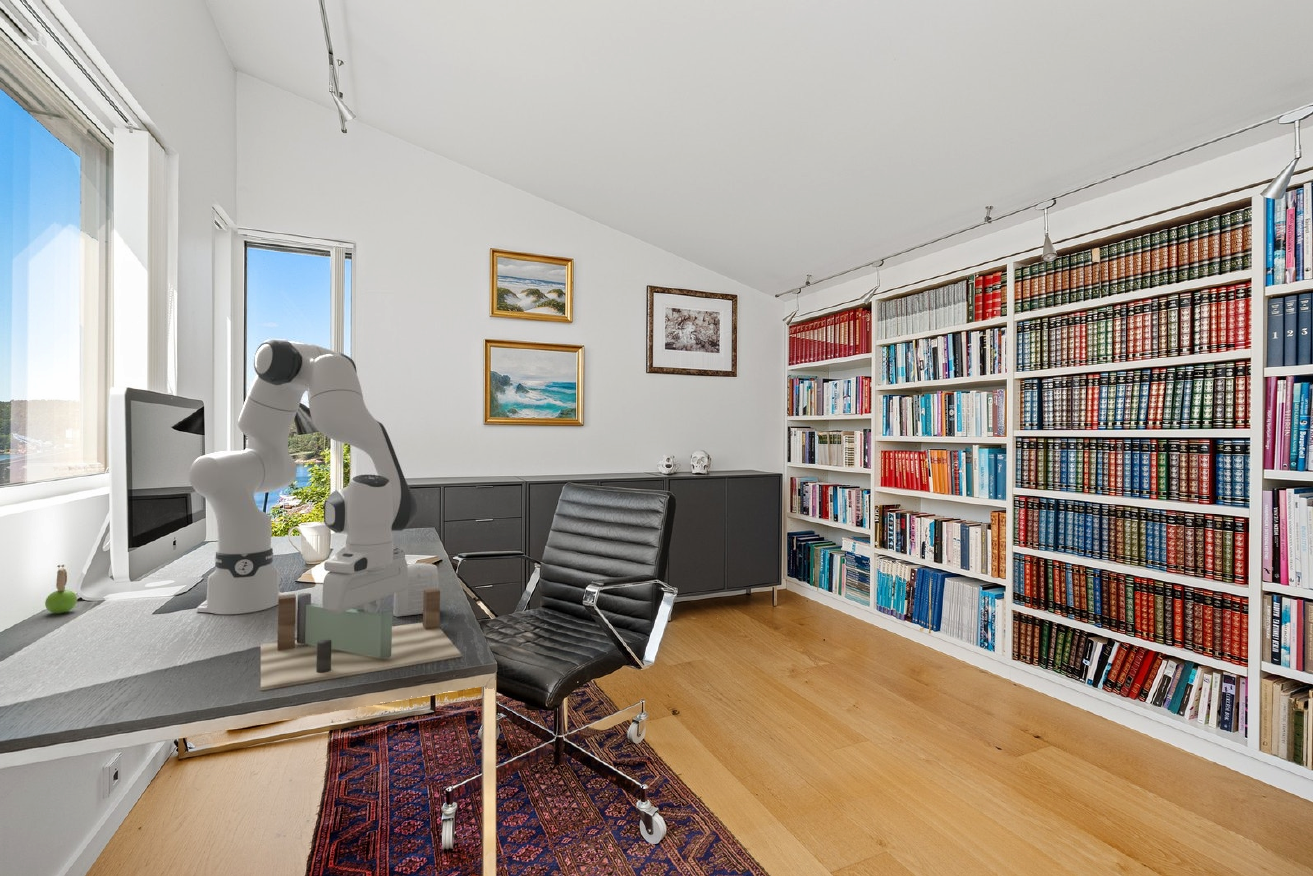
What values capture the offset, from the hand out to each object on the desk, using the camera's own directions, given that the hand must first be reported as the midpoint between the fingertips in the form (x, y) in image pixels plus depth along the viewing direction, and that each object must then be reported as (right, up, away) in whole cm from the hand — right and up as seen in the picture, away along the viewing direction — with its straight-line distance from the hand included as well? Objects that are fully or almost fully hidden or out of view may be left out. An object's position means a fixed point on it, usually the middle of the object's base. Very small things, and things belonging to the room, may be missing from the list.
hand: (368, 622), depth 128 cm
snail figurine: (-81, -4, +19) cm, 83 cm away
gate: (-4, -5, -1) cm, 7 cm away
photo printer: (-1, -6, +27) cm, 28 cm away
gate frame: (-2, -6, 0) cm, 6 cm away
